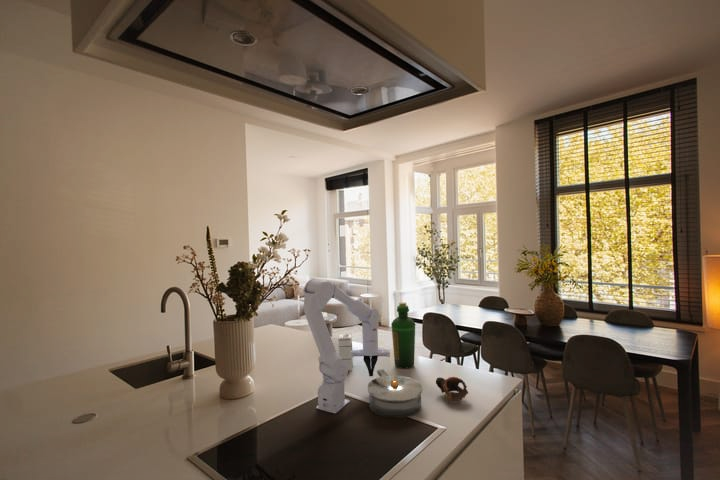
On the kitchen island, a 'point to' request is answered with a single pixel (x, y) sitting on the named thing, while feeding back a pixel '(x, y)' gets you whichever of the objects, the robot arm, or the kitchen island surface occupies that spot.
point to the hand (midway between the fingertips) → (371, 375)
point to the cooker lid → (394, 388)
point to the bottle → (403, 338)
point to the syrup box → (346, 349)
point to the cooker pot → (395, 407)
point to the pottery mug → (452, 388)
